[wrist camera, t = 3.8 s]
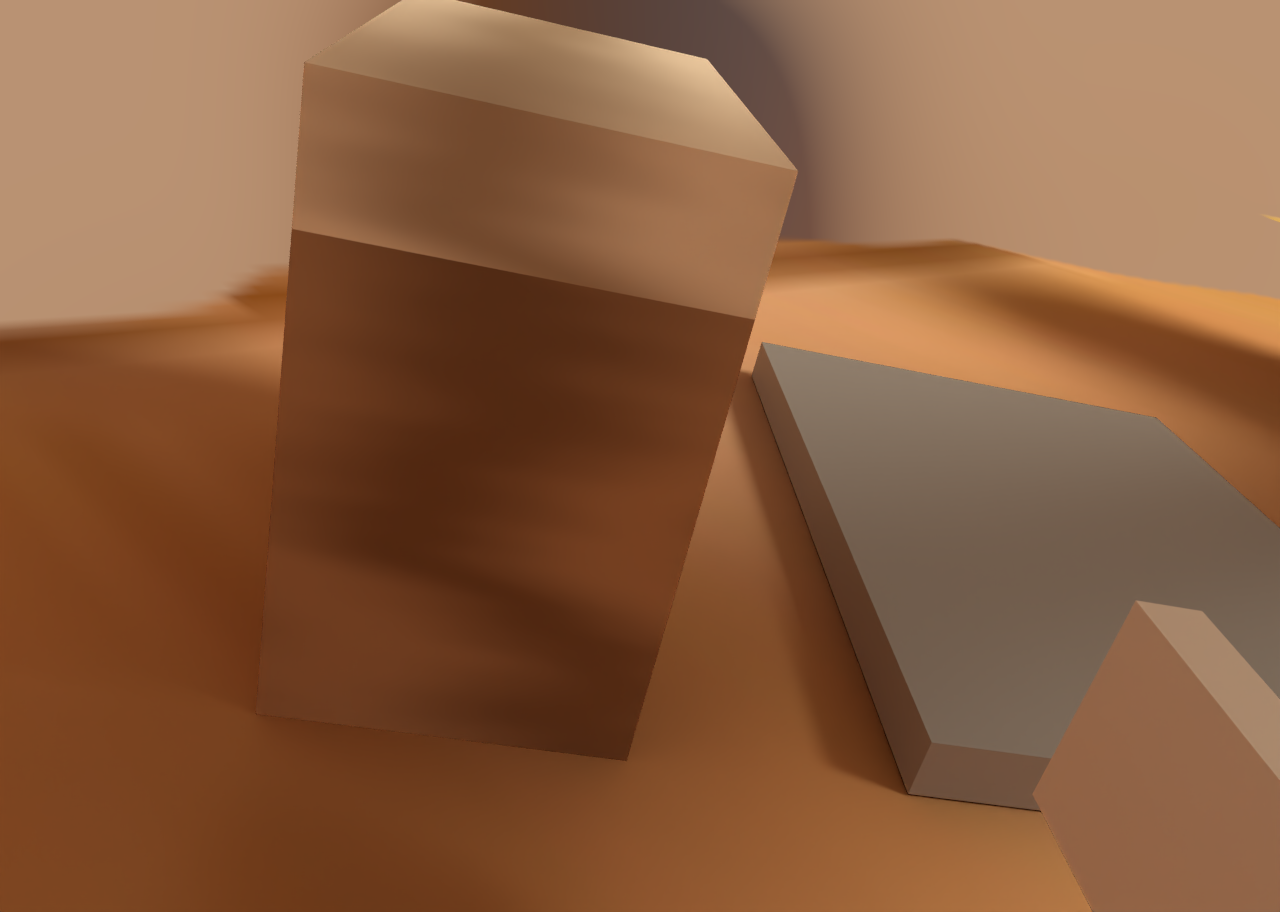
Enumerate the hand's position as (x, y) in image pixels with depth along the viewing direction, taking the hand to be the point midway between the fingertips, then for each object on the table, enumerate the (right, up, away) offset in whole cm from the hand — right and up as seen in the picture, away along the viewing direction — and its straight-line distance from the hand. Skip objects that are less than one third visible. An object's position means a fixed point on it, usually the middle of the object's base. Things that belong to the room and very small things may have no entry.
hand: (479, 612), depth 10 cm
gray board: (+12, -1, +17) cm, 21 cm away
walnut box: (-2, -1, +11) cm, 11 cm away
